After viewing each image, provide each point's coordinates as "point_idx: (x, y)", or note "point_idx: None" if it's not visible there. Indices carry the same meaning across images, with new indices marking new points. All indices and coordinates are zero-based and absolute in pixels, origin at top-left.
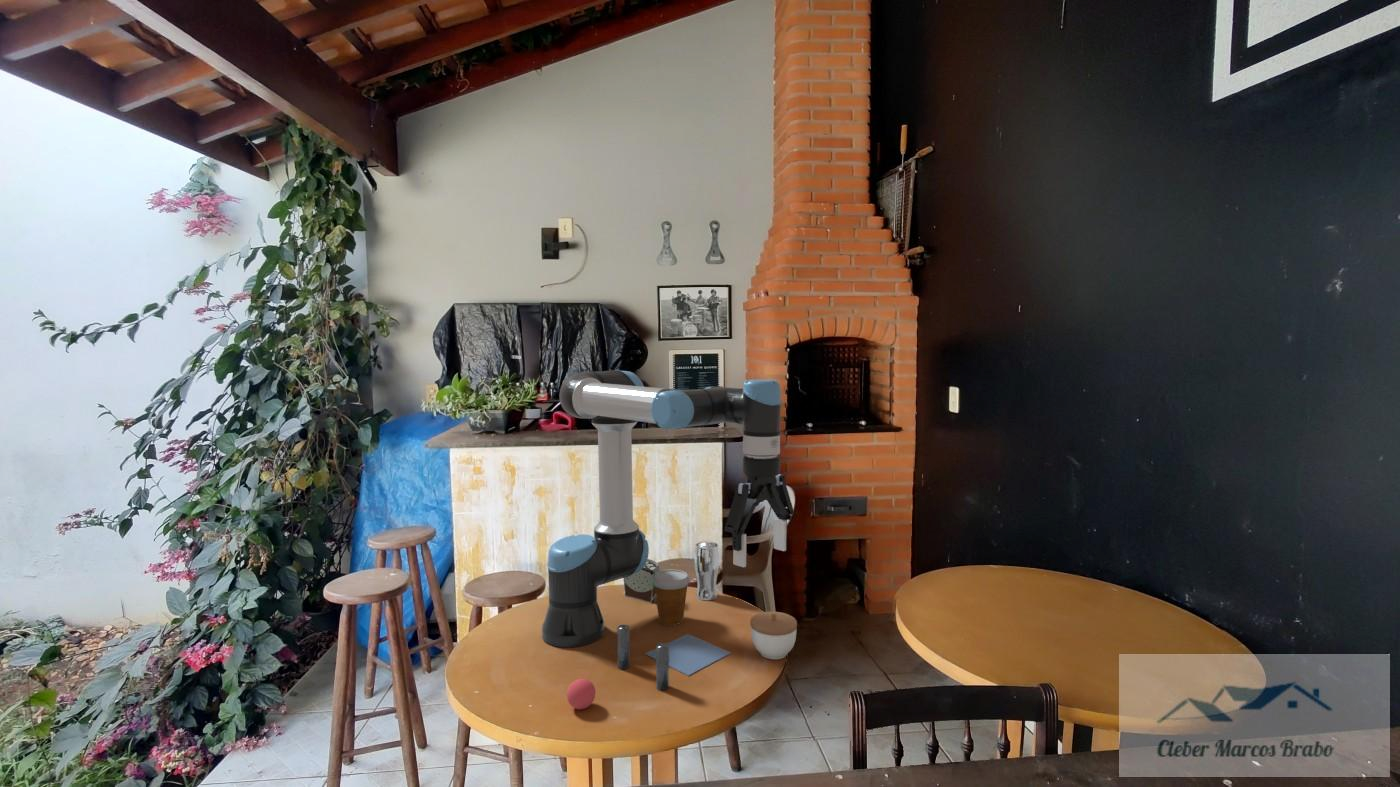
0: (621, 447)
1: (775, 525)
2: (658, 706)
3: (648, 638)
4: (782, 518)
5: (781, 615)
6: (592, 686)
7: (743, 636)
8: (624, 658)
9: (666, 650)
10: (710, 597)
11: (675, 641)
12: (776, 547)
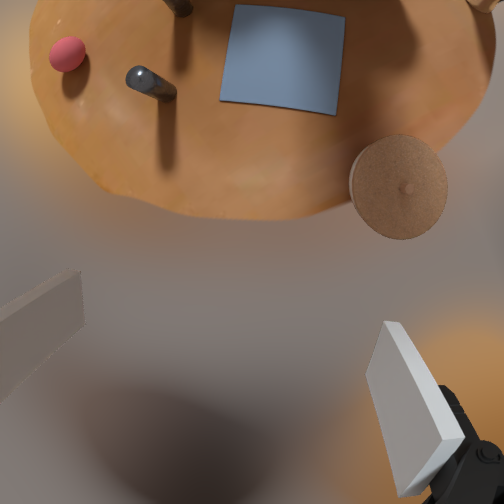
0: None
1: (421, 415)
2: (126, 125)
3: None
4: (436, 483)
5: (432, 192)
6: (65, 61)
7: (406, 105)
8: (171, 9)
9: (135, 89)
10: (474, 4)
11: (306, 14)
12: (380, 341)
